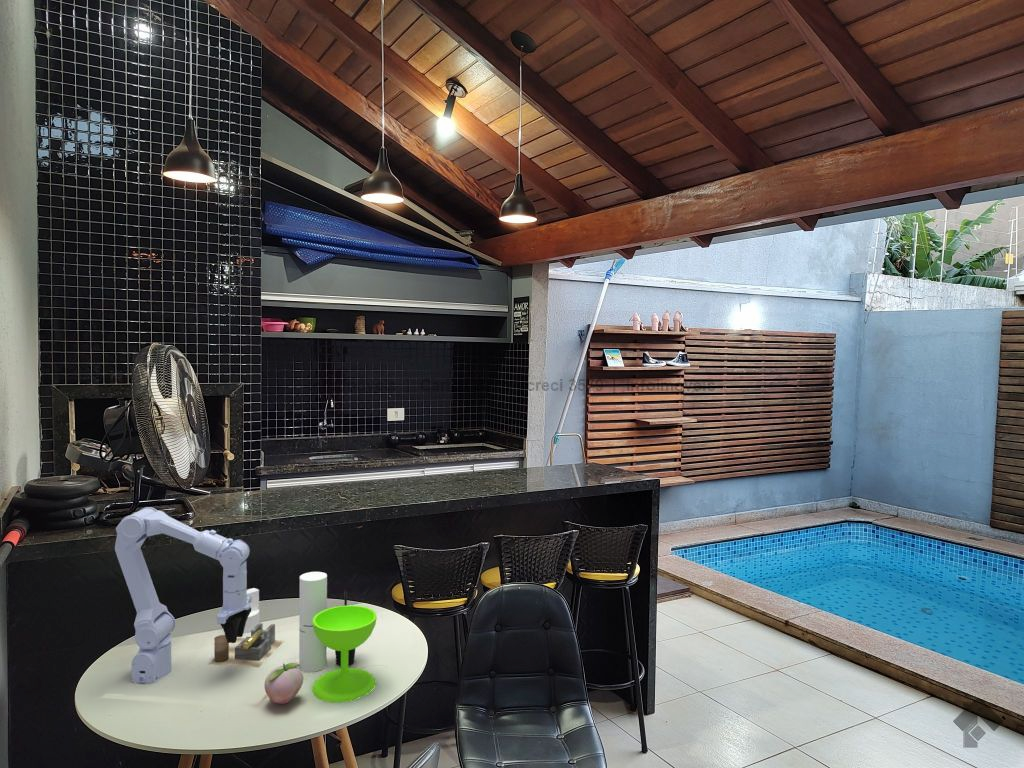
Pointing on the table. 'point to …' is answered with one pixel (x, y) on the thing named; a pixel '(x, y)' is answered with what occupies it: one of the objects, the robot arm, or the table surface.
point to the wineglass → (344, 651)
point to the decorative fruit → (284, 683)
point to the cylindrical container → (311, 621)
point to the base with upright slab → (252, 611)
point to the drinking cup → (350, 652)
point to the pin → (252, 640)
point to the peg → (221, 649)
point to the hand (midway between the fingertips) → (234, 639)
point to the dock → (252, 649)
